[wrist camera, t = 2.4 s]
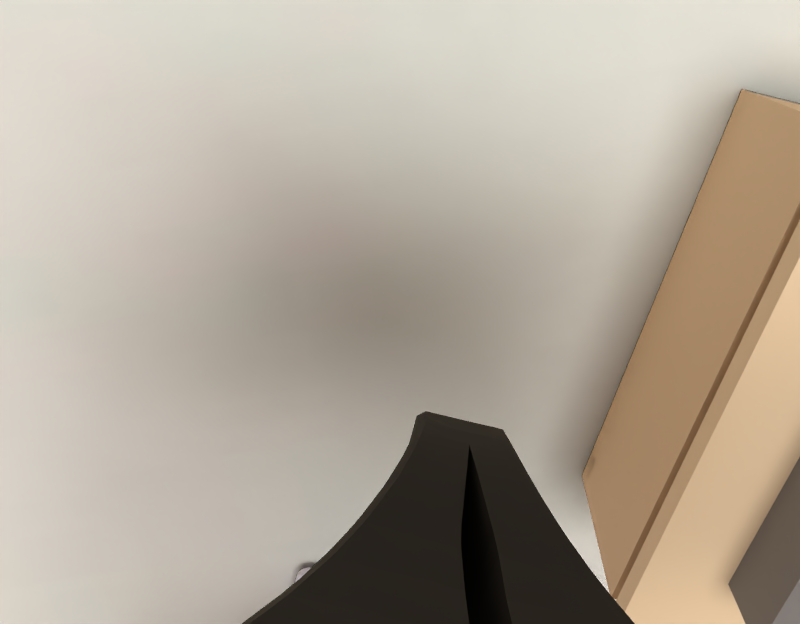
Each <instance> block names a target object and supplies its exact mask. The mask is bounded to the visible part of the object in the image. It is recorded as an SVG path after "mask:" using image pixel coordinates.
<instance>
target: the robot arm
mask: <svg viewBox="0 0 800 624" xmlns="http://www.w3.org/2000/svg"><path fill="white" fill-rule="evenodd" d="M242 624H635V623H634V622H633V621H632V620H631V618H630V617H629V616H628V615H627V614H626V613H625V611H624V610H623V609H622V608H621V607H620V606H619V604H618V603H617V602H616V601H615V600H614V599H613V597H612V596H611V595H610V594H609V593H608V591H607V590H606V589H605V588H604V586H603V585H602V584H601V583H600V581H599V580H598V579H597V578H596V576H595V575H594V574H593V572H592V571H591V570H590V568H589V567H588V566H587V564H586V563H585V561H584V560H583V559H582V557H581V556H580V555H579V553H578V552H577V550H576V549H575V548H574V546H573V545H572V543H571V542H570V541H569V539H568V538H567V536H566V535H565V533H564V532H563V530H562V529H561V527H560V526H559V524H558V523H557V521H556V520H555V518H554V516H553V515H552V513H551V512H550V510H549V508H548V507H547V505H546V504H545V502H544V501H543V499H542V497H541V495H540V494H539V492H538V490H537V489H536V487H535V485H534V484H533V482H532V480H531V478H530V477H529V475H528V473H527V471H526V470H525V468H524V466H523V464H522V462H521V461H520V459H519V457H518V455H517V453H516V452H515V450H514V448H513V446H512V444H511V443H510V441H509V439H508V438H507V436H506V434H505V432H504V431H503V430H502V429H498V428H494V427H490V426H485V425H481V424H477V423H473V422H469V421H464V420H460V419H456V418H452V417H448V416H443V415H439V414H435V413H431V412H424V413H422V414H420V415H418V416H417V417H416V421H415V425H414V428H413V432H412V435H411V439H410V443H409V445H408V447H407V449H406V451H405V453H404V455H403V457H402V458H401V460H400V462H399V463H398V465H397V466H396V468H395V470H394V471H393V473H392V474H391V476H390V478H389V479H388V481H387V482H386V484H385V485H384V487H383V488H382V489H381V491H380V492H379V493H378V495H377V496H376V497H375V499H374V500H373V501H372V502H371V504H370V505H369V506H368V508H367V509H366V510H365V512H364V513H363V514H362V515H361V517H360V518H359V519H358V520H357V521H356V523H355V524H354V525H353V526H352V527H351V528H350V529H349V531H348V532H347V533H346V534H345V535H344V536H343V537H342V538H341V539H340V540H339V541H338V542H337V543H336V544H335V545H334V547H333V548H332V549H331V550H330V551H329V552H328V553H327V554H326V555H325V556H324V557H322V558H321V559H320V560H319V561H318V562H317V563H316V564H315V565H314V566H313V567H312V568H303V569H302V570H300V571H299V572H298V574H297V576H296V580H295V583H294V584H293V585H292V586H290V587H289V588H288V589H287V590H286V591H284V592H283V593H282V594H281V595H280V596H278V597H277V598H276V599H274V600H273V601H271V602H270V603H269V604H267V605H266V606H265V607H263V608H262V609H261V610H259V611H258V612H257V613H255V614H254V615H253V616H251V617H250V618H249V619H247V620H246V621H245V622H243V623H242Z"/></svg>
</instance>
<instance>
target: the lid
mask: <svg viewBox="0 0 800 624" xmlns="http://www.w3.org/2000/svg"><path fill="white" fill-rule="evenodd" d="M616 602H617V603H618V604H619V606H620V607H621V608H622V609H623V610H624V611H625V613H626V614H627V615H628V616H629V617H630V618H631V620H632V621H633V622H634V623H635V624H800V220H799V222H798V224H797V226H796V228H795V230H794V232H793V234H792V237H791V239H790V241H789V243H788V245H787V247H786V249H785V251H784V253H783V255H782V257H781V259H780V261H779V264H778V266H777V268H776V270H775V272H774V274H773V276H772V278H771V280H770V282H769V284H768V286H767V288H766V291H765V293H764V295H763V297H762V299H761V301H760V303H759V305H758V307H757V309H756V311H755V313H754V315H753V318H752V320H751V322H750V324H749V326H748V328H747V330H746V332H745V334H744V336H743V338H742V340H741V342H740V345H739V347H738V349H737V351H736V353H735V355H734V357H733V359H732V361H731V363H730V365H729V367H728V369H727V372H726V374H725V376H724V378H723V380H722V382H721V384H720V386H719V388H718V390H717V392H716V394H715V396H714V399H713V401H712V403H711V405H710V407H709V409H708V411H707V413H706V415H705V417H704V419H703V421H702V423H701V425H700V428H699V430H698V432H697V434H696V436H695V438H694V440H693V442H692V444H691V446H690V448H689V450H688V452H687V455H686V457H685V459H684V461H683V463H682V465H681V467H680V469H679V471H678V473H677V475H676V477H675V479H674V482H673V484H672V486H671V488H670V490H669V492H668V494H667V496H666V498H665V500H664V502H663V504H662V506H661V509H660V511H659V513H658V515H657V517H656V519H655V521H654V523H653V525H652V527H651V529H650V531H649V533H648V536H647V538H646V540H645V542H644V544H643V546H642V548H641V550H640V552H639V554H638V556H637V558H636V560H635V563H634V565H633V567H632V569H631V571H630V573H629V575H628V577H627V579H626V581H625V583H624V585H623V587H622V590H621V592H620V594H619V596H618V598H617V600H616Z"/></svg>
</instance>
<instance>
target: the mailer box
mask: <svg viewBox="0 0 800 624" xmlns="http://www.w3.org/2000/svg"><path fill="white" fill-rule="evenodd" d="M799 220H800V103H796V102H792V101H788V100H784V99H780V98H776V97H772V96H768V95H764V94H760V93H756V92H752V91H748V90H744V89H742V90H741V93H740V95H739V98H738V100H737V102H736V105H735V107H734V110H733V112H732V115H731V117H730V119H729V122H728V124H727V127H726V129H725V131H724V134H723V136H722V139H721V141H720V144H719V146H718V148H717V151H716V153H715V156H714V158H713V160H712V163H711V165H710V168H709V170H708V173H707V175H706V177H705V180H704V182H703V185H702V187H701V189H700V192H699V194H698V197H697V199H696V202H695V204H694V206H693V209H692V211H691V214H690V216H689V218H688V221H687V223H686V226H685V228H684V231H683V233H682V235H681V238H680V240H679V243H678V245H677V247H676V250H675V252H674V255H673V257H672V259H671V262H670V264H669V267H668V269H667V272H666V274H665V276H664V279H663V281H662V284H661V286H660V288H659V291H658V293H657V296H656V298H655V301H654V303H653V305H652V308H651V310H650V313H649V315H648V317H647V320H646V322H645V325H644V327H643V330H642V332H641V334H640V337H639V339H638V342H637V344H636V346H635V349H634V351H633V354H632V356H631V359H630V361H629V363H628V366H627V368H626V371H625V373H624V375H623V378H622V380H621V383H620V385H619V388H618V390H617V392H616V395H615V397H614V400H613V402H612V404H611V407H610V409H609V412H608V414H607V417H606V419H605V421H604V424H603V426H602V429H601V431H600V433H599V436H598V438H597V441H596V443H595V446H594V448H593V450H592V453H591V455H590V458H589V460H588V462H587V465H586V467H585V470H584V472H583V475H582V478H583V482H584V486H585V491H586V495H587V499H588V503H589V508H590V512H591V516H592V520H593V525H594V529H595V533H596V537H597V541H598V546H599V550H600V554H601V558H602V563H603V567H604V571H605V575H606V579H607V584H608V588H609V592H610V595H611V596H612V597H613V598H614V599H617V598H618V596H619V594H620V592H621V590H622V587H623V585H624V583H625V581H626V579H627V577H628V575H629V573H630V571H631V569H632V567H633V565H634V563H635V560H636V558H637V556H638V554H639V552H640V550H641V548H642V546H643V544H644V542H645V540H646V538H647V536H648V533H649V531H650V529H651V527H652V525H653V523H654V521H655V519H656V517H657V515H658V513H659V511H660V509H661V506H662V504H663V502H664V500H665V498H666V496H667V494H668V492H669V490H670V488H671V486H672V484H673V482H674V479H675V477H676V475H677V473H678V471H679V469H680V467H681V465H682V463H683V461H684V459H685V457H686V455H687V452H688V450H689V448H690V446H691V444H692V442H693V440H694V438H695V436H696V434H697V432H698V430H699V428H700V425H701V423H702V421H703V419H704V417H705V415H706V413H707V411H708V409H709V407H710V405H711V403H712V401H713V399H714V396H715V394H716V392H717V390H718V388H719V386H720V384H721V382H722V380H723V378H724V376H725V374H726V372H727V369H728V367H729V365H730V363H731V361H732V359H733V357H734V355H735V353H736V351H737V349H738V347H739V345H740V342H741V340H742V338H743V336H744V334H745V332H746V330H747V328H748V326H749V324H750V322H751V320H752V318H753V315H754V313H755V311H756V309H757V307H758V305H759V303H760V301H761V299H762V297H763V295H764V293H765V291H766V288H767V286H768V284H769V282H770V280H771V278H772V276H773V274H774V272H775V270H776V268H777V266H778V264H779V261H780V259H781V257H782V255H783V253H784V251H785V249H786V247H787V245H788V243H789V241H790V239H791V237H792V234H793V232H794V230H795V228H796V226H797V224H798V222H799Z"/></svg>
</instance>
